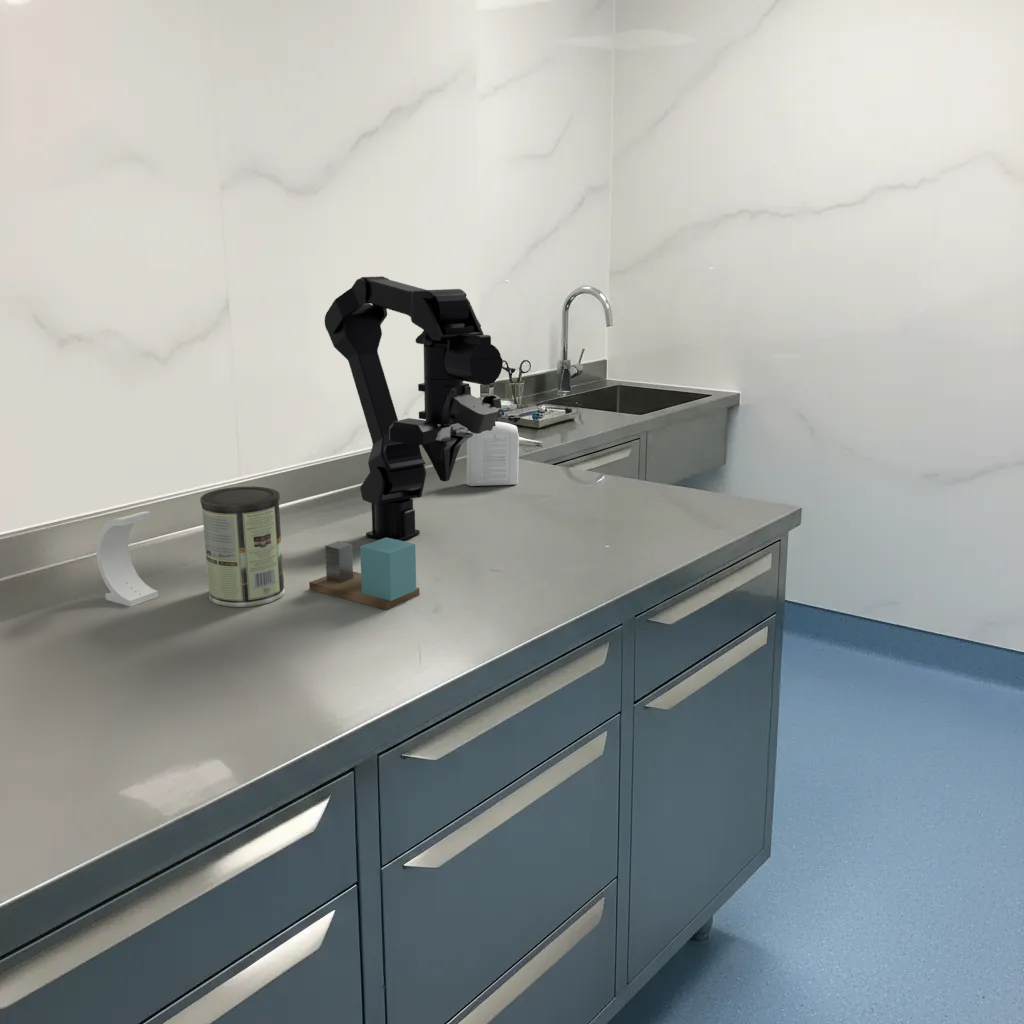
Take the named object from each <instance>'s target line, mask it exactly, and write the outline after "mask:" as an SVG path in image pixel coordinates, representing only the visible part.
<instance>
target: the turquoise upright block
mask: <svg viewBox="0 0 1024 1024" xmlns="http://www.w3.org/2000/svg"><path fill="white" fill-rule="evenodd" d="M359 548H360V549H359V550H360V553H359V554H360V573H361V584H362V593H363V594H367V595H371V596H374V597H378V598H382V599H385V600H389V601H392V600H394V599H397V598H399V597H401V596H404V595H406V594H408V593H411V592H413V591H415V590H416V587H417V565H416V563H417V560H416V557H417V556H416V543H414V542H409V541H403V540H401V541H400V540H396V539H391V538H387V537H386V538H383V539H378V540H375V541H372V542H369V543H366V544H363V545H361V546H359Z"/></svg>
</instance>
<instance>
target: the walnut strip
mask: <svg viewBox="0 0 1024 1024" xmlns="http://www.w3.org/2000/svg"><path fill="white" fill-rule="evenodd" d="M308 584H309V586H308V587H309V588H308V589H309V590H311V591H316V592H320V593H322V594H327V595H331V596H334V597H338V598H341V599H345V600H348V601H352V602H356V603H359V604H364V605H366V606H371V607H375V608H378V609H382V610H385V611H386V610H388V609H392V608H393V607H395V606H398V605H400V604H402V603H404V602H407V601H410V600H412V599H414V598H416V597H419V596H420V587H417V586H416V590H415V591H413V592H411V593H408V594H406V595H404V596H401V597H399V598H397V599H394V600H392V601H389V600H385V599H382V598H378V597H374V596H371V595H367V594H363V593H362V584H361V572H356V571H353V579H350V580H347V581H345V582H342V583H337V582H334V581H330V580H327V576H326V575H325V576H321V577H320V578H317V579H314V580H312V581H309V583H308Z"/></svg>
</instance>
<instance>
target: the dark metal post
mask: <svg viewBox="0 0 1024 1024" xmlns="http://www.w3.org/2000/svg"><path fill="white" fill-rule="evenodd" d="M324 550H325V551H324V552H325V570H326V571H325V573H326V574H325V576H327V580H330V581H334V582H337V583H342V582H345V581H347V580H350V579H353V572H354V566H353V543H348V542H344V541H340V540H338V541H335V542H332V543H329V544H326V545H324Z"/></svg>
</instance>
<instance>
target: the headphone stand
mask: <svg viewBox="0 0 1024 1024" xmlns="http://www.w3.org/2000/svg"><path fill="white" fill-rule="evenodd" d="M151 518H152V515H151V511H144V510H143V511H140V512H137V513H133V514H129V515H126V516H121V517H118V518H114V519H112V520H109V521H107V522H105V524H104V525H103V526H102V527H101V529H100V530H99V533H98V535H97V538H96V539H97V540H96V544H95V552H96V555H95V556H96V561H97V565H98V569H99V573H100V575H101V579H102V580H103V581H104V583H105V586H106V587H107V588H108V591H110V592H107V593H105V600H106V601H110V602H112V603H116V604H121V605H123V606H126V607H130V608H131V607H133V606H136V605H140V604H141V603H144V602H148V601H151V600H152V599H156V598H158V597H159V594H158V593H159V591H158V590H156V589H154V588H152V587H151V586H149V585H148V584H147V583H146V582H144V581H143V580H142V579H141V577H140V576H139V574H138V573H137V571H136V570H135V566H134V565H133V562H132V559H131V555H130V548H129V541H130V540H129V539H130V534H131V530H132V528H133V526H134V525H135V523H138V522H142V521H145V520H147V519H151Z"/></svg>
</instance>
